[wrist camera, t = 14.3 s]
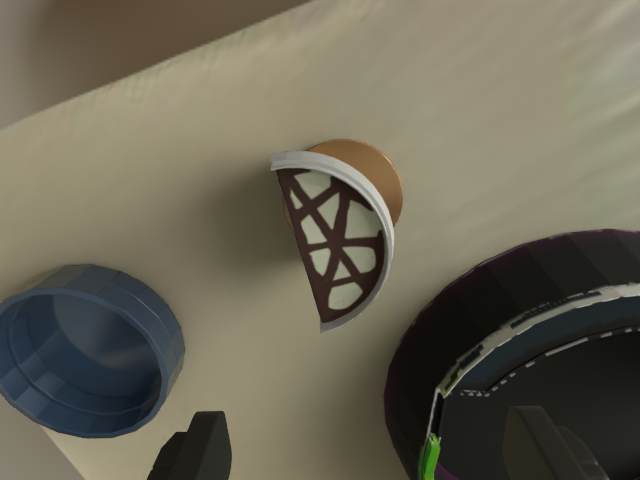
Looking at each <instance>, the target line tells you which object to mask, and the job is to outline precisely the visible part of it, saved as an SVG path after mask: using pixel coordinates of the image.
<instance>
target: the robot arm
mask: <svg viewBox="0 0 640 480" xmlns="http://www.w3.org/2000/svg"><path fill="white" fill-rule="evenodd" d="M503 457H504V462H505V466H506V469H507V472H508V474H509V476H510V478H511V480H609V477H608V475H607V474H606V472H605V471H604V470H603V468H602V467H601V466H599V465H598V461H597V460H596V458H595V457H594V455H593V454H592V453H591V451H590V450H589V448H588V447H587V445H586V444H585V443H584V442H583V441H582V440H581V439H580V438H578V437H577V436H576V435H575V434H574V433H572V432H571V431H570V430H569V429H568V428H566V427H565V426H555V425H554V424H553V422H552V421H551V419H550V418H549V416H548V415H547V413H546V412H545V410H544V409H543V408H542V407H541V406H511V407H510V408H509V410H508V416H507V422H506V429H505V435H504V442H503ZM231 461H232V452H231V445H230V439H229V434H228V429H227V423H226V418H225V414H224V412H223V411H202V412H196V413H195V415H194V416H193V419H192V421H191V423H190V426H189V428H188V431H187V432H176V433H175V434H174V435H173V436H172V437H171V438H170V439H169V440H168V441H167V443H166V444H165V445H164V446H163V447H162V448H161V450H160V452H159V454H158V456H157V459H156V461H155V463H154V465H153V470H151V471H150V474H149V476H148V478H147V480H228V479H229V475H230V470H231Z"/></svg>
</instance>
